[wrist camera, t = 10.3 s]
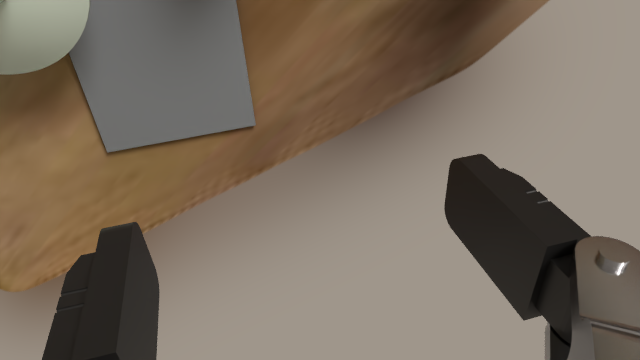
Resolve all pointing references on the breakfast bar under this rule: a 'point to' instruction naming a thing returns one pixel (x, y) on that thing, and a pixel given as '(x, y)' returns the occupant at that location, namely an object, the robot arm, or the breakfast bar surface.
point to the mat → (163, 70)
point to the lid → (39, 32)
